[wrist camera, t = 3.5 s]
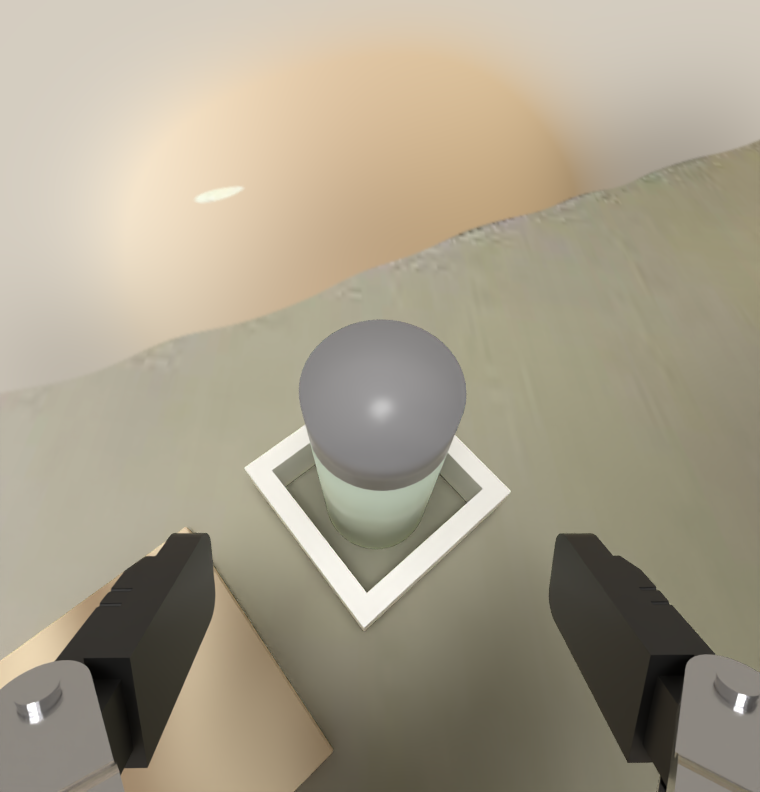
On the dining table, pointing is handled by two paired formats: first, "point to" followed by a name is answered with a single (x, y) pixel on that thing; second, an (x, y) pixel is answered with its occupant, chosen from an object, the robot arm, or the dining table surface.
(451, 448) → the collar
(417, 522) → the plug
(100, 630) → the robot arm
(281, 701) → the pad
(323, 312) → the dining table surface
